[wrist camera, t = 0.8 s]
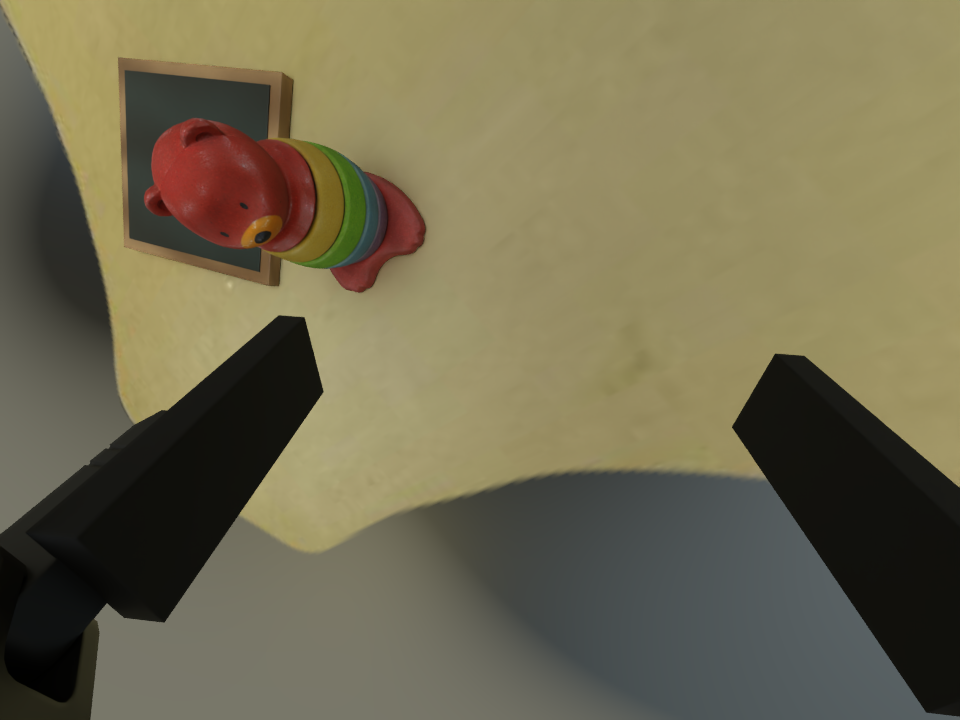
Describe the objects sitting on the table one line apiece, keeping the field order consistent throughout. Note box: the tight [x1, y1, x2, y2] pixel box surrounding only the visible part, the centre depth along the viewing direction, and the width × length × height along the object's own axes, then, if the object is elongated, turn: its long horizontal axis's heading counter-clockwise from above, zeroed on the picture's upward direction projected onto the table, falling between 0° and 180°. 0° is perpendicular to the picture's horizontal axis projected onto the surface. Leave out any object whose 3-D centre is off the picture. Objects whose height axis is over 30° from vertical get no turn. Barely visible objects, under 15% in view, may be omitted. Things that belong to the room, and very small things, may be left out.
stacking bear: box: [144, 118, 425, 293], centre depth 28 cm, size 11×10×18 cm
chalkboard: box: [118, 57, 293, 286], centre depth 40 cm, size 20×22×2 cm
